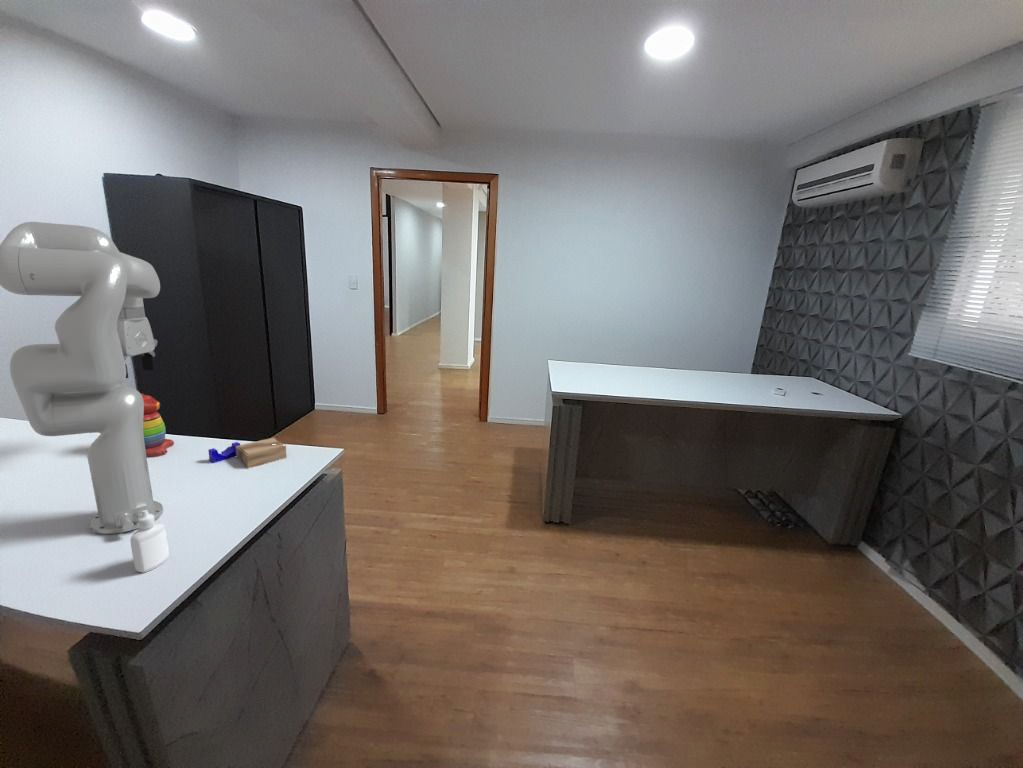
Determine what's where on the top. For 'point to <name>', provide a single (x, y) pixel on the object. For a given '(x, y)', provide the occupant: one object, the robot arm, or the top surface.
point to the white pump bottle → (149, 544)
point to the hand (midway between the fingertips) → (136, 373)
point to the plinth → (260, 452)
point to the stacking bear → (154, 429)
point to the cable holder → (223, 453)
